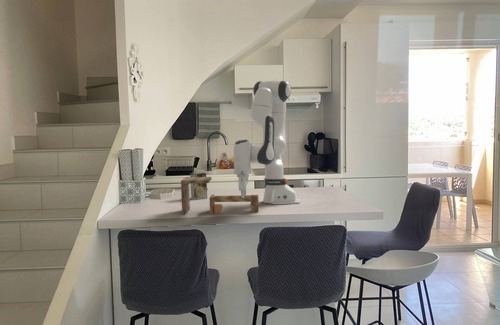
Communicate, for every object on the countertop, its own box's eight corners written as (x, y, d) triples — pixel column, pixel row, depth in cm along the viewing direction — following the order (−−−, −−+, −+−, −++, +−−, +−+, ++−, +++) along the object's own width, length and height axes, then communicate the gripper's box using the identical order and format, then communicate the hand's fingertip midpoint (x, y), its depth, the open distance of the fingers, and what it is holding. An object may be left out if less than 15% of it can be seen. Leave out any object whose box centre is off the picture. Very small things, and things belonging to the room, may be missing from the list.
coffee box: (203, 196, 263) (203, 172, 262) (207, 198, 258) (206, 173, 256) (190, 198, 259) (189, 173, 258) (193, 199, 253) (193, 174, 252)
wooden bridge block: (258, 209, 220) (258, 194, 219) (258, 213, 211) (258, 197, 210) (212, 210, 221) (211, 194, 220) (209, 213, 212) (209, 197, 211)
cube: (222, 211, 218) (222, 203, 218) (221, 212, 214) (221, 205, 214) (214, 211, 218) (214, 203, 218) (213, 212, 214) (213, 205, 214)
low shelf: (212, 209, 223) (211, 176, 222) (208, 214, 209) (207, 180, 208) (187, 209, 224) (186, 177, 222) (182, 214, 210) (180, 180, 208)
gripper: (247, 172, 204) (248, 199, 205) (249, 168, 224) (250, 192, 225) (235, 173, 204) (236, 200, 205) (238, 168, 224) (239, 193, 226)
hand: (243, 196), depth 215 cm, fingers open, 8 cm apart
